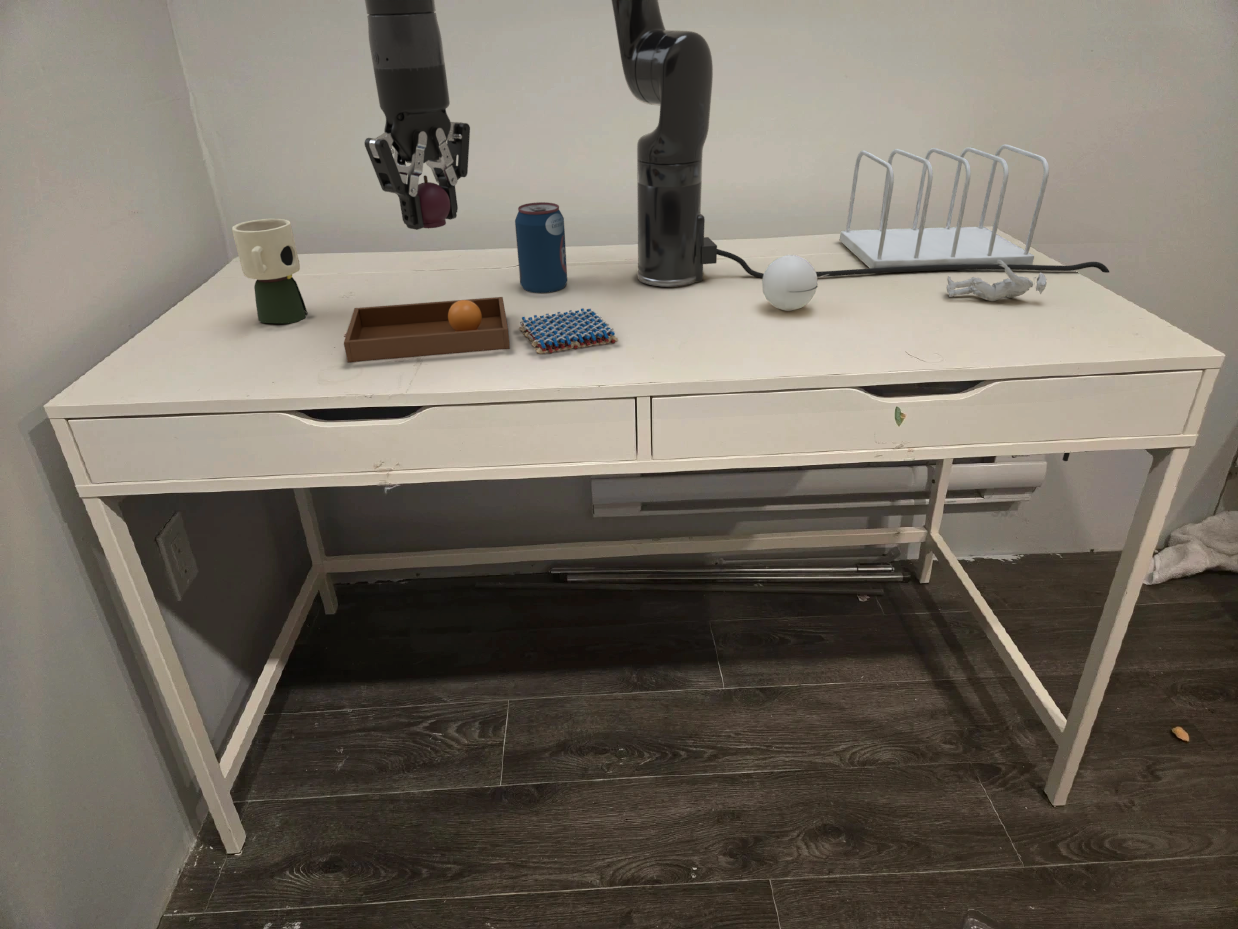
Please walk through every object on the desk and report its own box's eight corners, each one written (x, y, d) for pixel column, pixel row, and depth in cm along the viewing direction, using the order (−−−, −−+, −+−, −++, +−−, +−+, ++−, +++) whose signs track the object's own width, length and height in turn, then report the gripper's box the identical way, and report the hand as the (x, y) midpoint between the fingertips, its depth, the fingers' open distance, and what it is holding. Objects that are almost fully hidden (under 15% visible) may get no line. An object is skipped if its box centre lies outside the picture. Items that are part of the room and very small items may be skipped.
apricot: (482, 325, 106) (479, 294, 104) (483, 337, 102) (480, 305, 100) (450, 328, 105) (446, 296, 103) (450, 339, 102) (445, 307, 100)
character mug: (303, 334, 106) (280, 234, 99) (246, 337, 105) (219, 237, 99) (318, 306, 115) (298, 213, 109) (267, 309, 115) (243, 215, 108)
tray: (504, 318, 109) (502, 296, 108) (510, 352, 99) (507, 328, 98) (358, 330, 107) (354, 307, 105) (348, 366, 96) (343, 342, 95)
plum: (453, 218, 98) (446, 169, 95) (452, 228, 94) (446, 178, 91) (412, 221, 97) (404, 172, 94) (410, 231, 93) (402, 180, 90)
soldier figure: (944, 295, 117) (1034, 271, 114) (953, 325, 115) (1044, 301, 112) (946, 270, 110) (1042, 243, 107) (956, 301, 108) (1053, 275, 105)
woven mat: (592, 319, 109) (592, 304, 108) (620, 347, 100) (620, 331, 99) (517, 330, 106) (515, 315, 105) (538, 360, 97) (537, 344, 96)
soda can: (576, 291, 119) (571, 207, 112) (533, 300, 116) (526, 215, 109) (554, 279, 124) (549, 198, 118) (513, 287, 121) (505, 205, 115)
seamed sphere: (773, 321, 107) (777, 266, 103) (751, 303, 113) (755, 250, 109) (842, 313, 109) (849, 259, 105) (818, 296, 115) (823, 244, 111)
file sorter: (872, 273, 123) (887, 165, 115) (838, 242, 138) (849, 145, 130) (1033, 266, 124) (1058, 159, 116) (981, 237, 139) (1001, 140, 131)
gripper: (379, 69, 80) (407, 242, 89) (481, 56, 90) (497, 213, 98) (331, 67, 84) (363, 233, 92) (433, 55, 93) (453, 206, 102)
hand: (432, 222), depth 95 cm, fingers closed on plum, 4 cm apart
